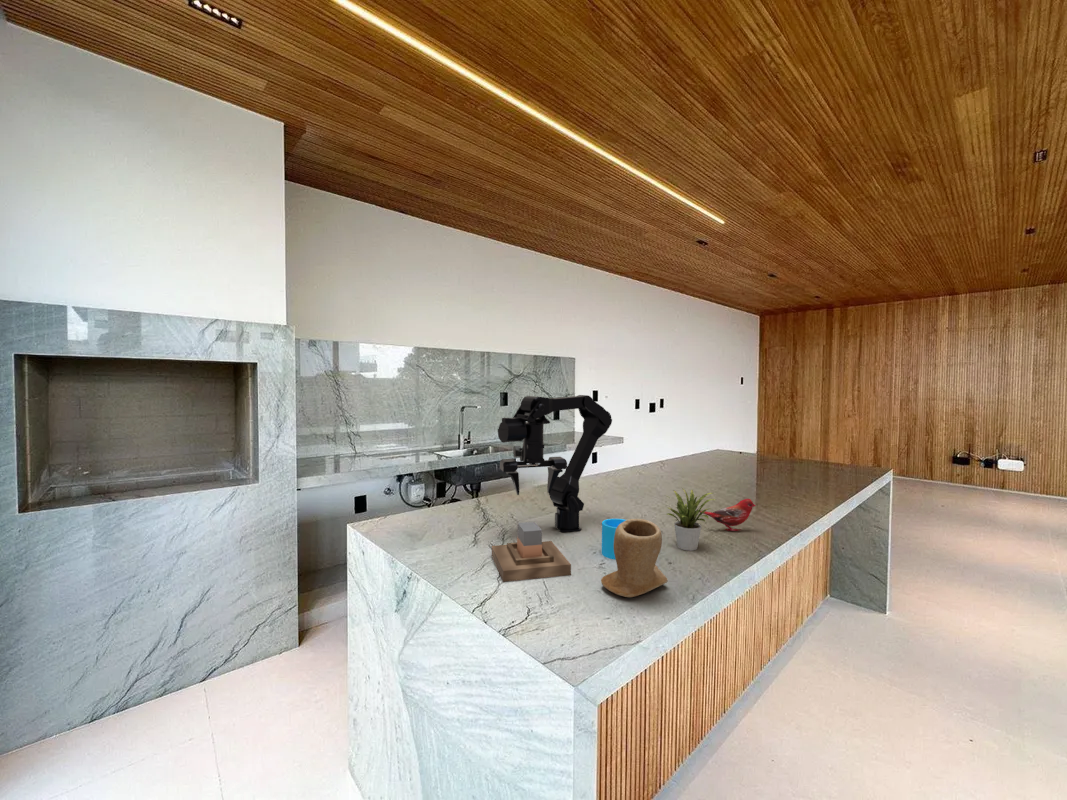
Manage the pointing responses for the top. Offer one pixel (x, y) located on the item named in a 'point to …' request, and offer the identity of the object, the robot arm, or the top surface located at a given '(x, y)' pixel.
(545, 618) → the top surface
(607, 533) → the mug
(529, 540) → the block
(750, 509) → the decorative bird figurine
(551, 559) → the walnut cradle stand
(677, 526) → the house plant
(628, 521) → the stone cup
